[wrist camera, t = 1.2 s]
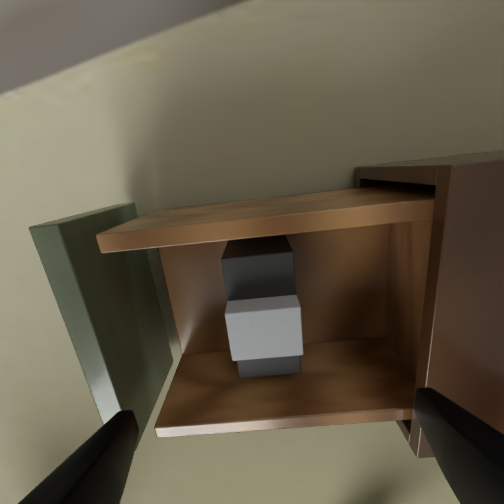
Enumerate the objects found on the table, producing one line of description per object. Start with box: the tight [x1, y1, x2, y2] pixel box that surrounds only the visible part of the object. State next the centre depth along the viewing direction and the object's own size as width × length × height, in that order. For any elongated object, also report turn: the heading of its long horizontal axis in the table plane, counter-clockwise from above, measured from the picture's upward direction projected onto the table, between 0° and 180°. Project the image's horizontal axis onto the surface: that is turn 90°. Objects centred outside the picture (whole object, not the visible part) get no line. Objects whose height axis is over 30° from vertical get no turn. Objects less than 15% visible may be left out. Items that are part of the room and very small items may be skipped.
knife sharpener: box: [221, 234, 303, 378], centre depth 14 cm, size 7×3×5 cm, turn 6°
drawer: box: [29, 184, 436, 451], centre depth 15 cm, size 19×12×7 cm, turn 96°
